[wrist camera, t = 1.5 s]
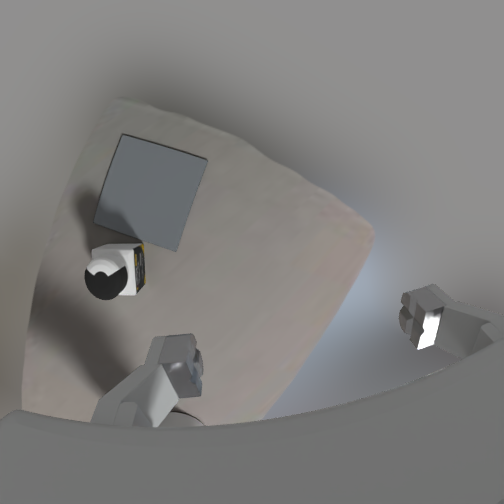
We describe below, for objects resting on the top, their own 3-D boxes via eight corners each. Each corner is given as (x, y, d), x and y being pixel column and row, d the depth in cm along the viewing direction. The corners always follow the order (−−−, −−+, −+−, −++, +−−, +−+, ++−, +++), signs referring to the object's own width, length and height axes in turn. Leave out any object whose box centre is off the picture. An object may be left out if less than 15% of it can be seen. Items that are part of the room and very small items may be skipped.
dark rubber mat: (176, 251, 47) (175, 251, 47) (94, 222, 44) (93, 222, 44) (207, 161, 46) (207, 160, 45) (123, 135, 43) (122, 134, 42)
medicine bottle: (146, 284, 47) (127, 306, 36) (109, 283, 46) (82, 304, 35) (144, 243, 46) (123, 254, 34) (106, 243, 45) (77, 254, 34)
